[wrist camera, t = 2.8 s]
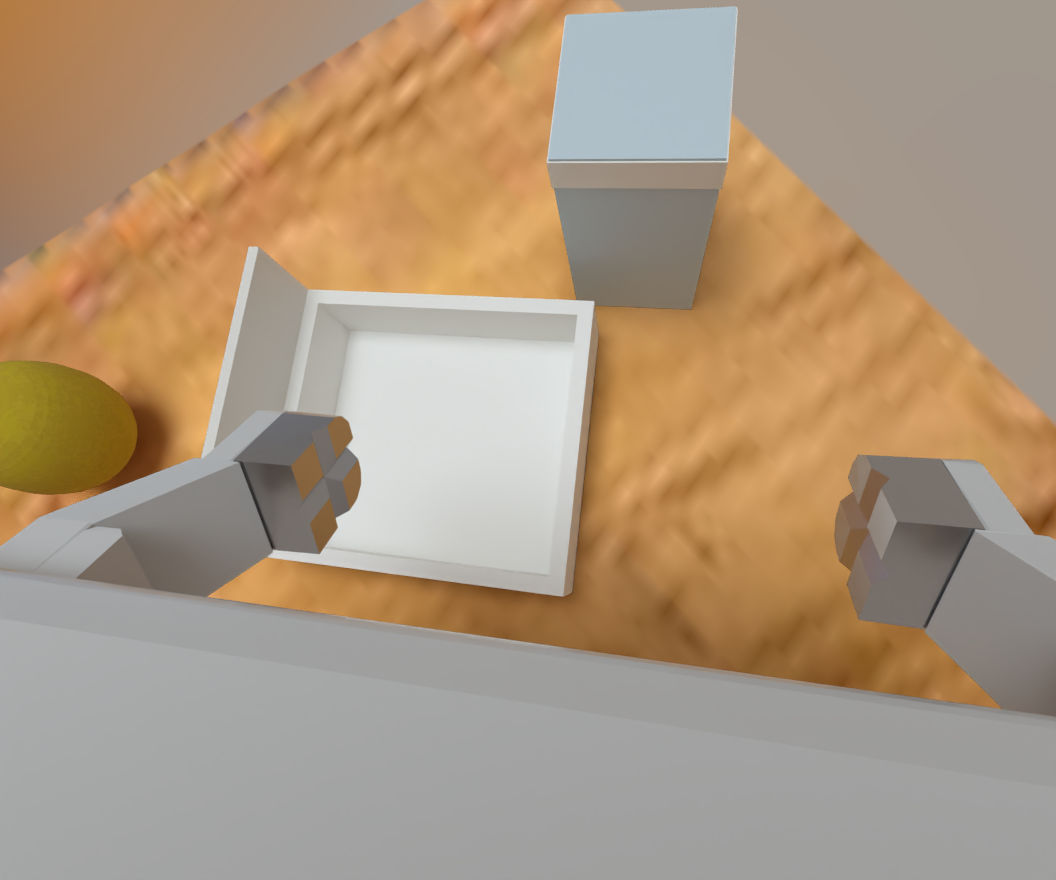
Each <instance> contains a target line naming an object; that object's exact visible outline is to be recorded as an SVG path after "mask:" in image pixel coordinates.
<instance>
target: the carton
mask: <svg viewBox="0 0 1056 880" xmlns="http://www.w3.org/2000/svg"><path fill="white" fill-rule="evenodd" d="M737 12H738V8H736V7H717V8H696V9H676V10H657V11H656V10H655V11H637V12H636V11H635V12H615V13H595V14H575V15H566V17H565V24H564V32H563V39H562V47H561V55H560V63H559V71H558V79H557V87H556V94H555V102H554V110H553V118H552V126H551V134H550V141H549V149H548V157H547V166H548V171H549V176H550V181H551V186H552V188H554V190H555V195H556V200H557V205H558V210H559V215H560V220H561V225H562V230H563V235H564V240H565V245H566V250H567V255H568V260H569V265H570V270H571V275H572V280H573V285H574V289H575V294H576V299H577V300H581V301H594V302H595V306H615V307H640V308H664V309H688V310H691V309H692V304H693V300H694V296H695V292H696V287H697V283H698V279H699V275H700V270H701V266H702V262H703V258H704V253H705V249H706V245H707V241H708V236H709V232H710V228H711V224H712V219H713V215H714V211H715V207H716V202H717V198H718V194H719V189H722V185H723V181H724V177H725V173H726V169H727V165H728V155H729V139H730V123H731V107H732V105H731V104H732V91H733V75H734V58H735V43H736V27H737Z"/></svg>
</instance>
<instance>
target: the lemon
mask: <svg viewBox="0 0 1056 880" xmlns="http://www.w3.org/2000/svg"><path fill="white" fill-rule="evenodd" d="M137 435H138V433H137V423H136V420H135V417H134V415H133V412H132V410H131V408H130V407H129V405H128V404H127V402H126V401H125V400H124V398H123V397H122V396H121V395H120V394H119V393H118V392H117V391H115V390H114V389H113V388H111V387H110V386H109V385H107V384H106V383H104V382H103V381H101V380H100V379H98V378H96V377H94V376H92V375H90V374H87V373H85V372H82V371H79V370H76V369H73V368H70V367H66V366H63V365H58V364H54V363H47V362H39V361H5V362H0V486H2V487H6V488H10V489H14V490H19V491H23V492H29V493H34V494H47V495H53V494H66V493H76V492H81V491H85V490H88V489H91V488H93V487H96V486H99V485H101V484H103V483H105V482H107V481H108V480H110V479H111V478H113V477H114V476H115V475H117V474H118V473H119V472H120V471H121V470H122V469H123V468H124V467H125V466H126V465H127V463H128V461H129V460H130V458H131V457H132V455H133V452H134V450H135V447H136V442H137Z"/></svg>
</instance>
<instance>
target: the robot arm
mask: <svg viewBox="0 0 1056 880" xmlns="http://www.w3.org/2000/svg"><path fill="white" fill-rule="evenodd" d="M352 439H353V435H352V432H351V428H350V425H349V422H348V421H347V420H346V419H345V418H343V417H342V416H336V415H325V414H315V413H304V412H294V411H291V412H289V411H284V410H267V409H266V410H258V411H256V412H255V413H254V414H253V415H252V416H251V417H249V418H248V419H247V420H246V421H245V422H244V423H243V424H241V425H240V426H239V427H238V428H237V429H236V430H235V431H234V432H232V433H231V434H230V435H229V436H228V437H227V438H226V439H224V440H223V441H222V442H221V443H220V444H219V445H218V446H216V447H215V448H214V449H213V450H212V451H211V452H210V453H208V454H207V455H206V456H205V457H204V458H203V459H202V458H193V459H190V460H188V461H185V462H183V463H180V464H177V465H175V466H172V467H169V468H167V469H164V470H162V471H159V472H156V473H154V474H151V475H148V476H146V477H143V478H141V479H138V480H135V481H133V482H130V483H128V484H125V485H122V486H120V487H117V488H114V489H112V490H109V491H107V492H104V493H101V494H99V495H96V496H93V497H91V498H88V499H86V500H83V501H80V502H78V503H75V504H73V505H70V506H67V507H65V508H62V509H59V510H57V511H54V512H52V513H49V514H46V515H44V516H41V517H39V518H38V519H36V520H35V521H34V522H32V523H31V524H30V525H28V526H27V527H26V528H24V529H23V530H22V531H20V532H19V533H18V534H16V535H15V536H14V537H12V538H11V539H10V540H8V541H7V542H6V543H4V544H3V545H2V546H0V880H1056V540H1054V539H1052V538H1050V537H1049V536H1040V535H1034V533H1033V532H1032V531H1031V529H1030V528H1029V526H1028V525H1027V524H1026V522H1025V521H1024V520H1023V518H1022V517H1021V516H1020V514H1019V513H1018V512H1017V510H1016V509H1015V508H1014V506H1013V505H1012V504H1011V502H1010V501H1009V499H1008V498H1007V497H1006V495H1005V494H1004V493H1003V491H1002V490H1001V489H1000V487H999V486H998V485H997V483H996V482H995V481H994V479H993V478H992V477H991V475H990V474H989V472H988V471H987V470H986V468H985V467H984V466H983V465H982V464H981V463H979V462H977V461H975V460H961V459H936V458H935V459H929V458H910V457H891V456H872V455H858V456H857V457H856V459H855V460H854V462H853V464H852V467H851V470H850V473H849V476H848V479H849V482H850V484H851V487H852V489H853V492H852V493H851V494H850V495H848V496H847V497H845V498H844V499H843V500H841V501H840V504H839V508H838V512H837V515H836V520H835V534H834V537H835V545H836V551H837V554H838V558H839V561H840V562H841V563H842V564H843V565H844V566H846V567H847V568H848V569H849V570H850V571H851V574H850V576H849V579H848V582H847V586H848V589H849V592H850V595H851V598H852V601H853V604H854V607H855V610H856V613H857V616H858V619H859V620H865V621H872V622H879V623H886V624H892V625H899V626H906V627H913V628H920V629H926V630H925V633H926V634H927V635H928V636H929V637H930V638H931V639H932V640H933V641H934V642H935V643H936V644H937V645H938V646H939V647H940V648H942V649H943V650H944V651H945V652H946V653H947V654H948V655H949V656H950V657H951V658H952V659H953V660H954V661H955V662H956V663H957V664H958V665H959V666H960V667H961V668H962V669H963V670H964V671H965V672H966V673H967V674H968V675H969V676H970V677H971V678H972V679H973V680H974V681H975V682H976V683H977V684H978V685H979V686H980V687H981V688H982V689H983V690H984V691H985V692H986V693H987V694H988V695H989V696H990V697H991V698H992V699H993V700H994V701H995V702H996V703H997V704H998V705H999V706H1000V707H1001V708H1003V709H998V708H991V707H984V706H977V705H970V704H962V703H955V702H948V701H940V700H933V699H926V698H918V697H911V696H904V695H897V694H889V693H882V692H875V691H868V690H861V689H854V688H847V687H840V686H833V685H826V684H819V683H812V682H805V681H798V680H791V679H784V678H777V677H770V676H763V675H756V674H749V673H742V672H735V671H727V670H720V669H713V668H706V667H699V666H692V665H685V664H678V663H671V662H664V661H657V660H650V659H643V658H636V657H629V656H622V655H615V654H608V653H601V652H594V651H587V650H580V649H573V648H566V647H558V646H551V645H544V644H537V643H530V642H523V641H515V640H508V639H501V638H494V637H487V636H480V635H473V634H465V633H458V632H451V631H444V630H437V629H430V628H423V627H415V626H408V625H401V624H394V623H387V622H380V621H373V620H366V619H358V618H351V617H344V616H337V615H330V614H323V613H316V612H309V611H302V610H295V609H288V608H281V607H274V606H266V605H259V604H252V603H245V602H238V601H231V600H224V599H217V598H210V597H207V596H208V595H210V594H211V593H213V592H214V591H216V590H217V589H219V588H220V587H222V586H223V585H225V584H226V583H228V582H229V581H231V580H232V579H234V578H235V577H237V576H238V575H240V574H241V573H243V572H244V571H246V570H247V569H249V568H250V567H252V566H253V565H255V564H256V563H258V562H259V561H261V560H262V559H264V558H265V557H267V556H268V555H270V554H271V553H273V550H278V551H289V552H300V553H311V554H320V553H321V551H322V550H323V548H324V547H325V546H326V544H327V543H328V541H329V540H330V538H331V537H332V536H333V534H334V533H335V531H336V530H337V528H338V525H337V522H336V518H337V517H339V516H340V515H342V514H344V513H346V512H348V511H350V509H351V508H352V506H353V505H354V503H355V502H356V500H357V498H358V494H359V490H360V486H361V469H360V464H359V460H358V458H357V457H356V456H355V455H354V454H353V453H352V452H351V451H350V450H349V449H348V446H349V444H350V443H351V441H352Z"/></svg>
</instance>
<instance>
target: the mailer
mask: <svg viewBox="0 0 1056 880" xmlns="http://www.w3.org/2000/svg"><path fill="white" fill-rule="evenodd" d="M598 339H599V332H598V325H597V317H596V310H595V302H594V301H581V300H556V299H531V298H507V297H482V296H457V295H432V294H407V293H383V292H358V291H333V290H308V289H307V288H306V287H305V286H303V285H302V284H301V283H300V282H299V281H298V280H296V279H295V278H294V277H293V276H292V275H291V274H289V273H288V272H287V271H286V270H285V269H284V268H282V267H281V266H280V265H279V264H278V263H277V262H276V261H274V260H273V259H272V258H271V257H270V256H269V255H267V254H266V253H265V252H264V251H263V250H262V249H260V248H259V247H249V249H248V253H247V258H246V262H245V266H244V271H243V275H242V280H241V284H240V288H239V293H238V297H237V302H236V306H235V311H234V315H233V319H232V324H231V328H230V333H229V337H228V342H227V346H226V350H225V355H224V359H223V364H222V368H221V372H220V377H219V381H218V386H217V390H216V395H215V399H214V403H213V408H212V412H211V417H210V421H209V426H208V430H207V434H206V439H205V443H204V448H203V452H202V456H201V458H202V459H203V458H204V457H205V456H206V455H207V454H208V453H210V452H211V451H212V450H213V449H214V448H215V447H216V446H218V445H219V444H220V443H221V442H222V441H223V440H224V439H226V438H227V437H228V436H229V435H230V434H231V433H232V432H234V431H235V430H236V429H237V428H238V427H239V426H240V425H241V424H243V423H244V422H245V421H246V420H247V419H248V418H249V417H251V416H252V415H253V414H254V413H255V412H256V411H258V410H266V409H267V410H284V411H289V412H291V411H294V412H304V413H315V414H325V415H336V416H342V417H343V418H345V419H346V420H347V421H348V422H349V425H350V428H351V432H352V435H353V439H352V441H351V443H350V444H349V446H348V449H349V450H350V451H351V452H352V453H353V454H354V455H355V456H356V457H357V458H358V460H359V464H360V469H361V486H360V490H359V494H358V498H357V500H356V502H355V503H354V505H353V506H352V508H351V509H350V511H348V512H346V513H344V514H342V515H340V516H339V517H337V518H336V522H337V525H338V528H337V530H336V531H335V533H334V534H333V536H332V537H331V538H330V540H329V541H328V543H327V544H326V546H325V547H324V548H323V550H322V551H321V553H320V554H311V553H300V552H289V551H278V550H273V553H271V554H270V555H268V556H267V557H270V558H277V559H285V560H292V561H300V562H307V563H315V564H322V565H330V566H337V567H345V568H352V569H360V570H367V571H374V572H382V573H389V574H397V575H404V576H412V577H419V578H427V579H434V580H442V581H449V582H457V583H464V584H472V585H479V586H487V587H494V588H502V589H509V590H517V591H524V592H531V593H539V594H546V595H554V596H561V597H564V596H566V595H568V594H571V593H572V592H573V583H574V573H575V563H576V553H577V544H578V534H579V524H580V514H581V505H582V495H583V485H584V475H585V466H586V456H587V446H588V436H589V427H590V417H591V407H592V397H593V388H594V378H595V368H596V358H597V349H598Z"/></svg>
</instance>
